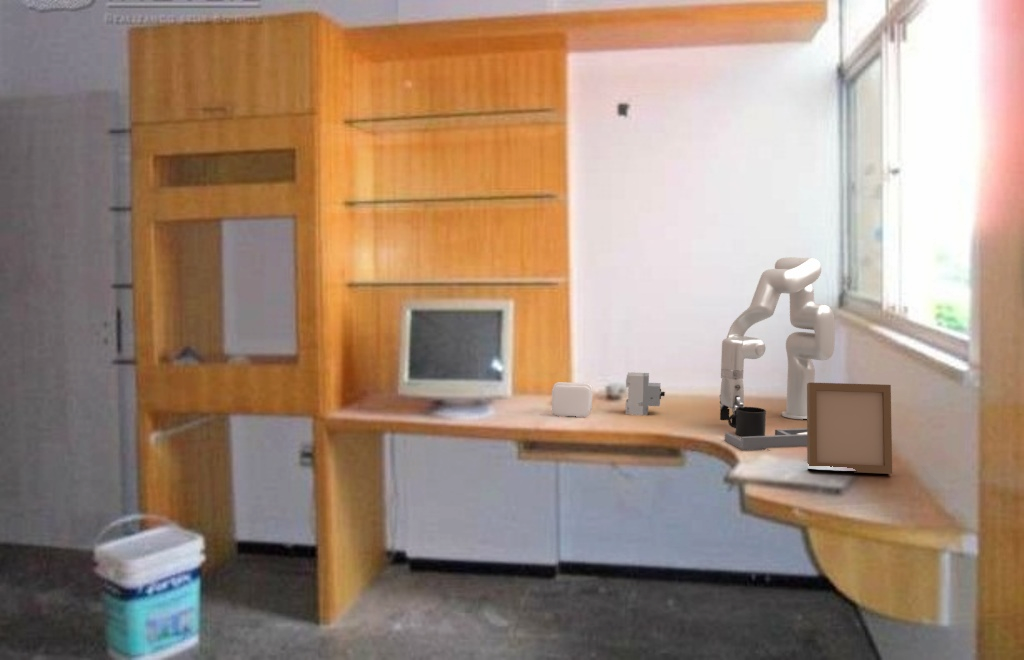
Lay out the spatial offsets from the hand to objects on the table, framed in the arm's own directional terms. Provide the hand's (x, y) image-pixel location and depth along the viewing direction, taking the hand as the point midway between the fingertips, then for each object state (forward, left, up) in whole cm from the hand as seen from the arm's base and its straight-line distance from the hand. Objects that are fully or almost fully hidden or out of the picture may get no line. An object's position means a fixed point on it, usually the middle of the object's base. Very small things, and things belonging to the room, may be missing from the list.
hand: (730, 422), depth 296 cm
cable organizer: (+49, -33, -2) cm, 59 cm away
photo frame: (-10, +55, -2) cm, 56 cm away
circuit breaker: (+21, -30, -2) cm, 37 cm away
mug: (-1, +11, -2) cm, 12 cm away
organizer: (-6, +23, -2) cm, 24 cm away
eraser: (-16, +22, -1) cm, 27 cm away
